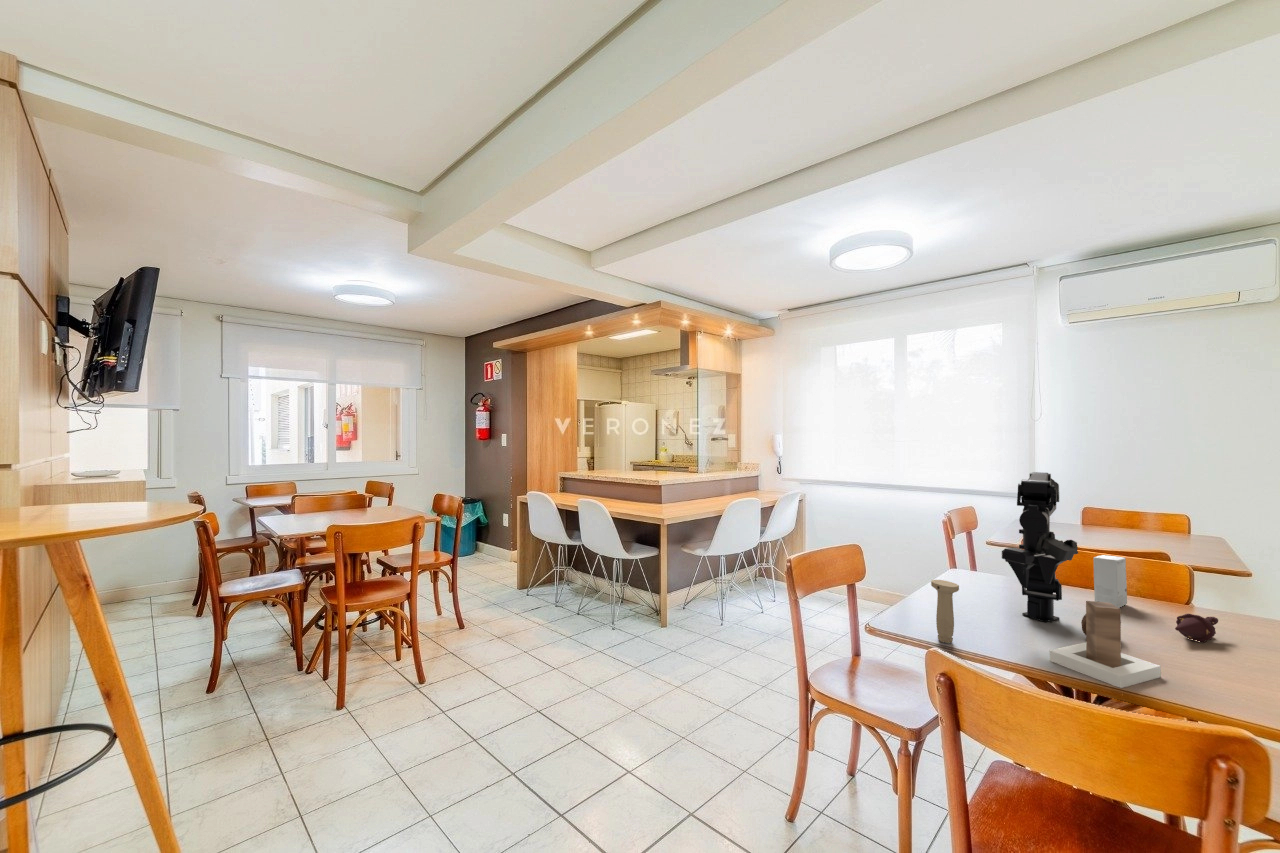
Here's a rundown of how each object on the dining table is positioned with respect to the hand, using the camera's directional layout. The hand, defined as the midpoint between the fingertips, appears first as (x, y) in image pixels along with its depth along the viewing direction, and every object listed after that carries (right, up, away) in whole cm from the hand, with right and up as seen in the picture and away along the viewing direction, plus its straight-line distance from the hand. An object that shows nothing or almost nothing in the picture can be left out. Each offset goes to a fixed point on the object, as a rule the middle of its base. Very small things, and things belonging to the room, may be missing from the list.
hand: (1036, 585), depth 140 cm
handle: (-27, -13, -5) cm, 30 cm away
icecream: (+38, -13, -4) cm, 40 cm away
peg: (0, -12, -20) cm, 24 cm away
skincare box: (+41, -13, +23) cm, 49 cm away
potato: (+14, -13, -3) cm, 20 cm away
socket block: (0, -13, -20) cm, 24 cm away
